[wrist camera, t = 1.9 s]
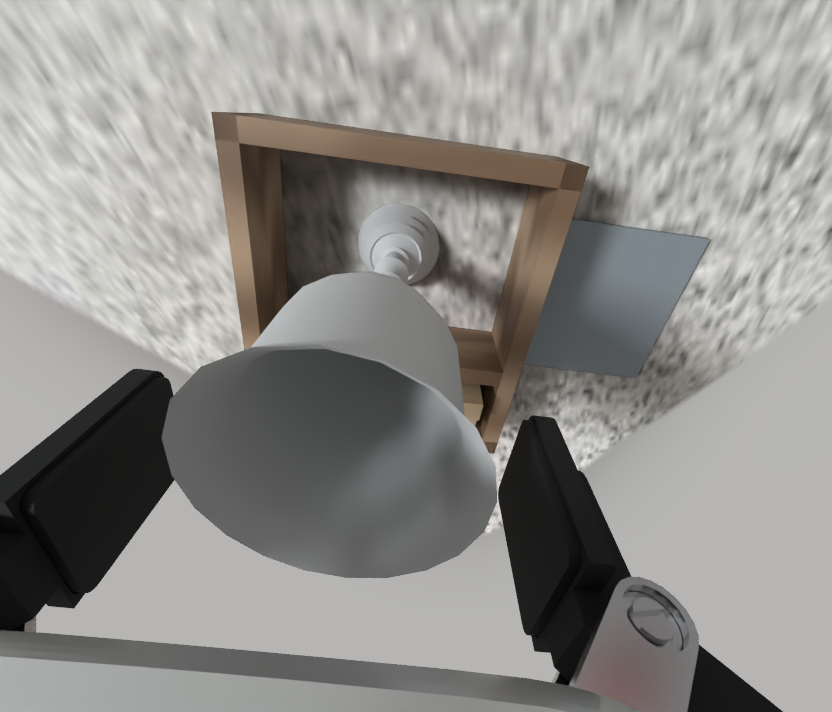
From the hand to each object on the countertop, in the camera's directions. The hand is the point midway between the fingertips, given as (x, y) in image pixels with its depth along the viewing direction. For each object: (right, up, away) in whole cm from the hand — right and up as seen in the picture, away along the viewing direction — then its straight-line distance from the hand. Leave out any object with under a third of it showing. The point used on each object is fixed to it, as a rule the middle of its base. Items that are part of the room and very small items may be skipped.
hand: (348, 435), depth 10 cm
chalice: (+1, +9, +13) cm, 16 cm away
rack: (0, +7, +15) cm, 16 cm away
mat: (+14, +6, +15) cm, 21 cm away
